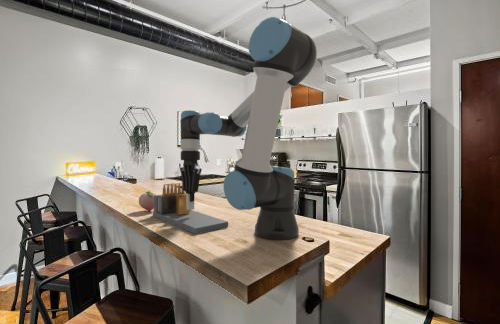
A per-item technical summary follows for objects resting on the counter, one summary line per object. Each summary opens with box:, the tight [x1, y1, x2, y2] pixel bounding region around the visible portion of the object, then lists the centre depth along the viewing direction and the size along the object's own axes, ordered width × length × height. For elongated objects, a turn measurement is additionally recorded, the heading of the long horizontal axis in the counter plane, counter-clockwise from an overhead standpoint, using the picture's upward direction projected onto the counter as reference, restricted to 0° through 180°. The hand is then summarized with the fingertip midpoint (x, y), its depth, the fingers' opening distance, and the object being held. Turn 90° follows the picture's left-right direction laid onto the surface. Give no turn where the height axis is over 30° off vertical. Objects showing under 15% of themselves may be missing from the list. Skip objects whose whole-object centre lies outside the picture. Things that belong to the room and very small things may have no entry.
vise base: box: [152, 193, 229, 235], centre depth 106 cm, size 35×14×9 cm, turn 43°
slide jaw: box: [159, 194, 190, 215], centre depth 111 cm, size 8×14×8 cm, turn 133°
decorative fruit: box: [138, 191, 157, 212], centre depth 122 cm, size 9×8×10 cm
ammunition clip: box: [161, 182, 185, 196], centre depth 115 cm, size 11×2×12 cm, turn 133°
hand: (190, 209), depth 104 cm, fingers closed
